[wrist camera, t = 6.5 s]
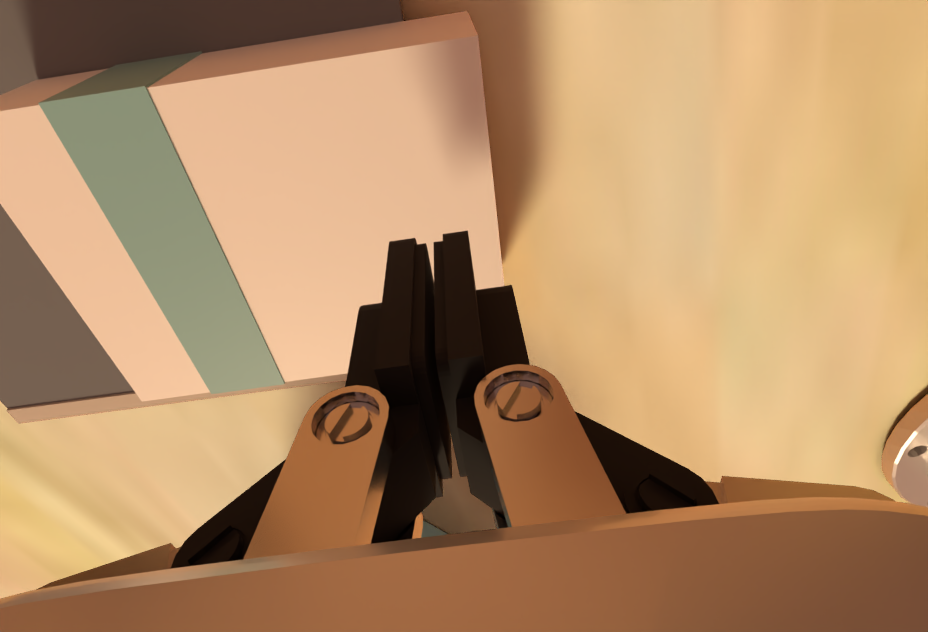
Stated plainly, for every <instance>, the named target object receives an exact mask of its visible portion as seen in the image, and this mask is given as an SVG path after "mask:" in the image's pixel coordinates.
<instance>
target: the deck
mask: <svg viewBox="0 0 928 632" xmlns="http://www.w3.org/2000/svg"><path fill="white" fill-rule="evenodd" d="M0 204H1V206H2V207H3V208H4V210H5V211H6V213H7V214H8V215H9V217H10V218H11V219H12V221H13V222H14V224H15V225H16V226H17V228H18V229H19V231H20V232H21V233H22V235H23V236H24V238H25V239H26V240H27V242H28V243H29V245H30V246H31V247H32V249H33V250H34V252H35V253H36V254H37V256H38V257H39V259H40V260H41V261H42V263H43V264H44V266H45V267H46V268H47V270H48V271H49V273H50V274H51V275H52V277H53V278H54V280H55V281H56V282H57V284H58V285H59V287H60V288H61V289H62V291H63V292H64V294H65V295H66V296H67V298H68V299H69V301H70V302H71V303H72V305H73V306H74V308H75V309H76V310H77V312H78V313H79V315H80V316H81V317H82V319H83V320H84V322H85V323H86V324H87V326H88V327H89V329H90V330H91V331H92V333H93V334H94V335H95V337H96V338H97V340H98V341H99V342H100V344H101V345H102V347H103V348H104V349H105V351H106V352H107V354H108V355H109V356H110V358H111V359H112V361H113V362H114V363H115V365H116V366H117V368H118V369H119V370H120V372H121V373H122V375H123V376H124V377H125V379H126V380H127V382H128V383H129V384H130V386H131V387H132V389H133V390H134V391H135V393H136V394H137V396H138V397H139V398H140V400H141V401H142V402H143V401H150V400H158V399H165V398H172V397H179V396H187V395H194V394H201V393H208V392H210V393H211V394H217V393H225V392H232V391H239V390H246V389H254V388H261V387H268V386H275V385H283V384H285V382H288V381H296V380H303V379H310V378H317V377H325V376H332V375H339V374H346V373H348V368H349V362H350V357H351V351H352V345H353V339H354V334H355V328H356V322H357V316H358V311H359V308H360V306H362V305H368V304H376V303H382V297H383V289H384V280H385V272H386V263H387V255H388V246H389V242H390V241H396V240H404V239H411V238H415V239H416V242H417V244H424V243H426V245H427V249H428V254H429V259H430V264H431V269H432V275H433V280H434V242H438V241H443V234H447V233H454V232H461V231H468V235H469V242H470V250H471V257H472V264H473V271H474V279H475V286H476V290H479V289H486V288H494V287H501V286H504V278H503V268H502V259H501V249H500V240H499V230H498V220H497V211H496V201H495V192H494V182H493V173H492V163H491V154H490V144H489V135H488V125H487V115H486V106H485V96H484V87H483V77H482V68H481V58H480V49H479V39H478V34H477V32H476V29H475V27H474V25H473V22H472V20H471V18H470V15H469V13H468V11H464V12H457V13H451V14H445V15H439V16H432V17H426V18H420V19H414V20H408V21H401V22H395V23H389V24H383V25H376V26H370V27H364V28H358V29H351V30H345V31H339V32H333V33H326V34H320V35H314V36H308V37H301V38H295V39H289V40H283V41H276V42H270V43H264V44H258V45H252V46H245V47H239V48H233V49H227V50H220V51H214V52H208V53H202V51H199V52H193V53H187V54H180V55H174V56H168V57H162V58H155V59H149V60H143V61H137V62H131V63H124V64H118V65H115V66H113V67H111V68H108V69H102V70H95V71H89V72H83V73H77V74H71V75H64V76H58V77H52V78H46V79H39V80H35V81H32V82H30V83H28V84H25V85H23V86H21V87H18V88H16V89H14V90H11V91H9V92H6V93H4V94H2V95H0Z"/></svg>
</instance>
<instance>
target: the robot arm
mask: <svg viewBox="0 0 928 632" xmlns="http://www.w3.org/2000/svg"><path fill="white" fill-rule="evenodd" d="M450 432H451V436H450ZM451 437H452V441H453V446H454V451H455V455H456V460H457V464H458V469H459V474H460V477H464V476H467V477H468V482H469V487H470V492H471V494H473V495H474V496H476V497H477V498H478V499H480V500H481V501H483V502H484V503H485V504H487V505H488V506H490V507H491V508H492V510H493V516H494V521H495V524H496V528H497V529H490V530H482V531H474V532H465V533H457V534H448V535H440V536H432V537H423V538H421V535H422V529H423V515H422V511H423V510H424V509H425V508H426V507H427V506H428V505H429V504H430V503H431V502H432V501H433V500H434V499H435V498H436V497H443V489H442V479H448V478H452V459H451ZM882 471H883V473H884V475H885V477H886V480H887V481H888V482H889V483H890V485H891V486H892V487H893V488H894V489H895V490H896V492H897V493H898V494H899V495H900V497H901V498H903V499H904V500H906V501H908V502H909V503H903V502H896V501H895V500H893V499H891V498H889V497H887V496H885V495H882V494H880V493H878V492H876V491H874V490H870V489H865V488H860V487H856V486H845V485H832V484H819V483H807V482H794V481H781V480H768V479H755V478H742V477H729V476H722V478H721V481H720V483H719V482H706V481H704V480H703V479H702V478H701V477H699V476H698V475H696V474H695V473H693V472H692V471H690V470H689V469H687V468H685V467H683V466H681V465H680V464H678V463H676V462H674V461H672V460H670V459H668V458H666V457H664V456H662V455H660V454H658V453H656V452H654V451H652V450H650V449H648V448H646V447H644V446H642V445H640V444H638V443H636V442H634V441H632V440H630V439H628V438H626V437H624V436H623V435H621V434H619V433H617V432H615V431H613V430H611V429H609V428H607V427H605V426H603V425H601V424H599V423H597V422H595V421H593V420H591V419H589V418H587V417H585V416H583V415H581V414H579V413H577V412H575V411H574V409H573V407H572V406H571V404H570V402H569V400H568V398H567V396H566V394H565V392H564V390H563V388H562V386H561V384H560V383H559V381H558V380H557V379H556V377H555V376H554V375H552V374H551V373H549V372H548V371H546V370H545V369H542V368H539V367H536V366H533V365H530V364H529V359H528V355H527V350H526V346H525V341H524V337H523V332H522V328H521V323H520V319H519V314H518V310H517V305H516V301H515V296H514V292H513V288H512V285H508V286H501V287H494V288H486V289H479V290H476V286H475V279H474V271H473V264H472V257H471V250H470V242H469V235H468V231H461V232H454V233H447V234H443V241H438V242H434V280H433V275H432V269H431V264H430V259H429V254H428V249H427V245H426V243H424V244H417V242H416V239H415V238H411V239H404V240H396V241H390V242H389V246H388V255H387V263H386V272H385V280H384V289H383V297H382V303H376V304H368V305H362V306H360V308H359V311H358V316H357V322H356V328H355V334H354V339H353V345H352V351H351V357H350V362H349V368H348V374H347V379H346V385H345V387H343V388H340V389H337V390H334V391H331V392H330V393H328V394H326V395H325V396H323V397H321V398H320V399H319V400H318V401H317V402H315V403H314V404H313V405H312V406H311V407H310V409H309V410H308V412H307V414H306V415H305V417H304V419H303V421H302V423H301V426H300V428H299V430H298V433H297V435H296V437H295V440H294V442H293V444H292V447H291V449H290V451H289V454H288V456H287V458H286V460H284V461H283V462H282V463H280V464H279V465H278V466H277V467H275V468H274V469H273V470H272V471H270V472H269V473H268V474H267V475H265V476H264V477H263V478H261V479H260V480H259V481H258V482H256V483H255V484H254V485H253V486H251V487H250V488H249V489H248V490H246V491H245V492H244V493H242V494H241V495H240V496H239V497H237V498H236V499H235V500H234V501H232V502H231V503H230V504H229V505H227V506H226V507H225V508H223V509H222V510H221V511H220V512H218V513H217V514H216V515H215V516H213V517H212V518H211V519H210V520H208V521H207V522H206V523H204V524H203V525H202V526H201V527H199V528H198V529H197V530H196V531H195V532H194V533H193V534H192V535H191V536H190V537H189V538H188V539H187V540H186V541H185V542H184V544H183V545H182V546H181V547H179V548H175V547H174V546H173V545H172V544H171V543H169V544H166V545H163V546H160V547H157V548H154V549H151V550H148V551H145V552H142V553H139V554H136V555H133V556H130V557H127V558H124V559H121V560H118V561H115V562H112V563H109V564H106V565H103V566H100V567H97V568H94V569H91V570H88V571H84V572H81V573H78V574H75V575H72V576H69V577H66V578H63V579H60V580H57V581H54V582H51V583H49V584H47V585H45V586H43V587H41V588H39V589H36V590H33V591H28V592H24V593H20V594H17V595H13V596H9V597H5V598H1V599H0V632H928V394H927V395H925V396H924V397H923V398H922V399H921V400H920V401H919V402H917V403H916V404H915V405H914V406H913V407H912V408H911V409H910V410H909V411H908V412H907V413H906V414H905V416H904V417H903V418H902V419H901V420H900V421H899V423H898V424H897V425H896V426H895V428H894V430H893V431H892V433H891V435H890V436H889V438H888V440H887V442H886V445H885V448H884V451H883V454H882ZM910 503H911V504H910Z"/></svg>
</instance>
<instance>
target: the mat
mask: <svg viewBox="0 0 928 632" xmlns="http://www.w3.org/2000/svg"><path fill="white" fill-rule="evenodd" d="M401 21H404V19H403V14H402V8H401V2H400V0H0V95H2V94H4V93H6V92H9V91H11V90H14V89H16V88H18V87H21V86H23V85H25V84H28V83H30V82H32V81H35V80H39V79H46V78H52V77H58V76H64V75H71V74H77V73H83V72H89V71H95V70H102V69H108V68H111V67H113V66H115V65H118V64H124V63H131V62H137V61H143V60H149V59H155V58H162V57H168V56H174V55H180V54H187V53H193V52H199V51H202V53H208V52H214V51H220V50H227V49H233V48H239V47H245V46H252V45H258V44H264V43H270V42H276V41H283V40H289V39H295V38H301V37H308V36H314V35H320V34H326V33H333V32H339V31H345V30H351V29H358V28H364V27H370V26H376V25H383V24H389V23H395V22H401ZM347 374H348V373H346V374H339V375H332V376H325V377H317V378H310V379H303V380H296V381H288V382H285V384H283V385H275V386H268V387H261V388H254V389H246V390H239V391H232V392H225V393H217V394H211V393H210V392H208V393H201V394H194V395H187V396H179V397H172V398H165V399H158V400H150V401H143V402H142V401H141V400H140V398H139V397H138V396H137V394H136V393H135V391H134V390H133V389H132V387H131V386H130V384H129V383H128V382H127V380H126V379H125V377H124V376H123V375H122V373H121V372H120V370H119V369H118V368H117V366H116V365H115V363H114V362H113V361H112V359H111V358H110V356H109V355H108V354H107V352H106V351H105V349H104V348H103V347H102V345H101V344H100V342H99V341H98V340H97V338H96V337H95V335H94V334H93V333H92V331H91V330H90V329H89V327H88V326H87V324H86V323H85V322H84V320H83V319H82V317H81V316H80V315H79V313H78V312H77V310H76V309H75V308H74V306H73V305H72V303H71V302H70V301H69V299H68V298H67V296H66V295H65V294H64V292H63V291H62V289H61V288H60V287H59V285H58V284H57V282H56V281H55V280H54V278H53V277H52V275H51V274H50V273H49V271H48V270H47V268H46V267H45V266H44V264H43V263H42V261H41V260H40V259H39V257H38V256H37V254H36V253H35V252H34V250H33V249H32V247H31V246H30V245H29V243H28V242H27V240H26V239H25V238H24V236H23V235H22V233H21V232H20V231H19V229H18V228H17V226H16V225H15V224H14V222H13V221H12V219H11V218H10V217H9V215H8V214H7V213H6V211H5V210H4V208H3V207H2V206H1V204H0V401H1V402H2V403H3V404H4V405H5V406H6V407H7V408H8V409H7V412H8V413H9V414H10V415H11V416H12V417H13V418H14V419H15V420H16V421H17V422H18V423H27V422H34V421H42V420H50V419H57V418H65V417H72V416H80V415H88V414H95V413H103V412H110V411H118V410H126V409H133V408H141V407H148V406H156V405H164V404H171V403H179V402H186V401H194V400H202V399H209V398H217V397H224V396H232V395H240V394H247V393H255V392H262V391H270V390H278V389H285V388H293V387H300V386H308V385H316V384H323V383H331V382H338V381H346V379H347Z"/></svg>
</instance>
